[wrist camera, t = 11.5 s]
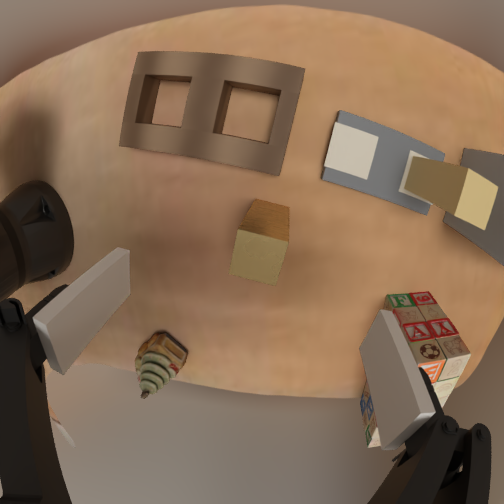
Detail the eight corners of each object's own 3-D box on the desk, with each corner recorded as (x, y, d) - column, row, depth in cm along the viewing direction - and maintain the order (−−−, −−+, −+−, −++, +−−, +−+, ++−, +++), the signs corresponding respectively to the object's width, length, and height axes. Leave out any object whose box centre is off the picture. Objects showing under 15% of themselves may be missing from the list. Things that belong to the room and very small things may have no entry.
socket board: (136, 144, 27) (119, 146, 24) (153, 59, 23) (138, 52, 20) (280, 171, 26) (278, 176, 23) (303, 77, 22) (305, 68, 19)
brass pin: (248, 230, 29) (228, 273, 20) (255, 198, 28) (237, 228, 19) (280, 238, 29) (275, 286, 20) (289, 207, 28) (288, 242, 19)
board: (319, 177, 26) (337, 201, 16) (336, 110, 23) (365, 91, 13) (423, 213, 26) (479, 253, 15) (441, 153, 23) (507, 167, 13)
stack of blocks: (393, 398, 37) (407, 457, 26) (359, 402, 38) (367, 465, 27) (429, 289, 29) (473, 354, 18) (385, 292, 30) (419, 365, 19)
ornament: (168, 371, 40) (145, 418, 31) (138, 348, 39) (109, 393, 30) (195, 350, 37) (172, 403, 28) (161, 323, 36) (129, 373, 27)
